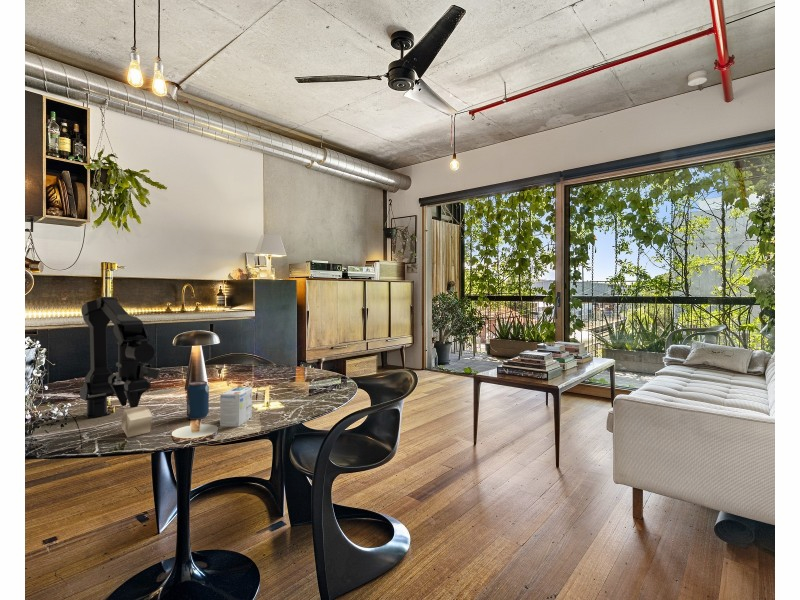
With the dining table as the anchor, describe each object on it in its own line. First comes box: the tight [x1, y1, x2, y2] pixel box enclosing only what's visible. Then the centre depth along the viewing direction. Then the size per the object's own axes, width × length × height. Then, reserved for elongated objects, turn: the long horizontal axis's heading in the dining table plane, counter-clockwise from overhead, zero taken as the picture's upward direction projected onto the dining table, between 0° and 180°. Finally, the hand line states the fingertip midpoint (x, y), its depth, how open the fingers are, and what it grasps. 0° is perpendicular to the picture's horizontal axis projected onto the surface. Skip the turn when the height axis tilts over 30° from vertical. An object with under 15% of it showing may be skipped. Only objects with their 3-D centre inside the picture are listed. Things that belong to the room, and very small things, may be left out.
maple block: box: [120, 404, 153, 438], centre depth 124 cm, size 6×6×6 cm
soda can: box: [186, 380, 210, 420], centre depth 142 cm, size 7×7×12 cm
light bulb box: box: [219, 386, 253, 428], centre depth 137 cm, size 11×7×11 cm, turn 178°
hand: (128, 408), depth 129 cm, fingers open, 9 cm apart
